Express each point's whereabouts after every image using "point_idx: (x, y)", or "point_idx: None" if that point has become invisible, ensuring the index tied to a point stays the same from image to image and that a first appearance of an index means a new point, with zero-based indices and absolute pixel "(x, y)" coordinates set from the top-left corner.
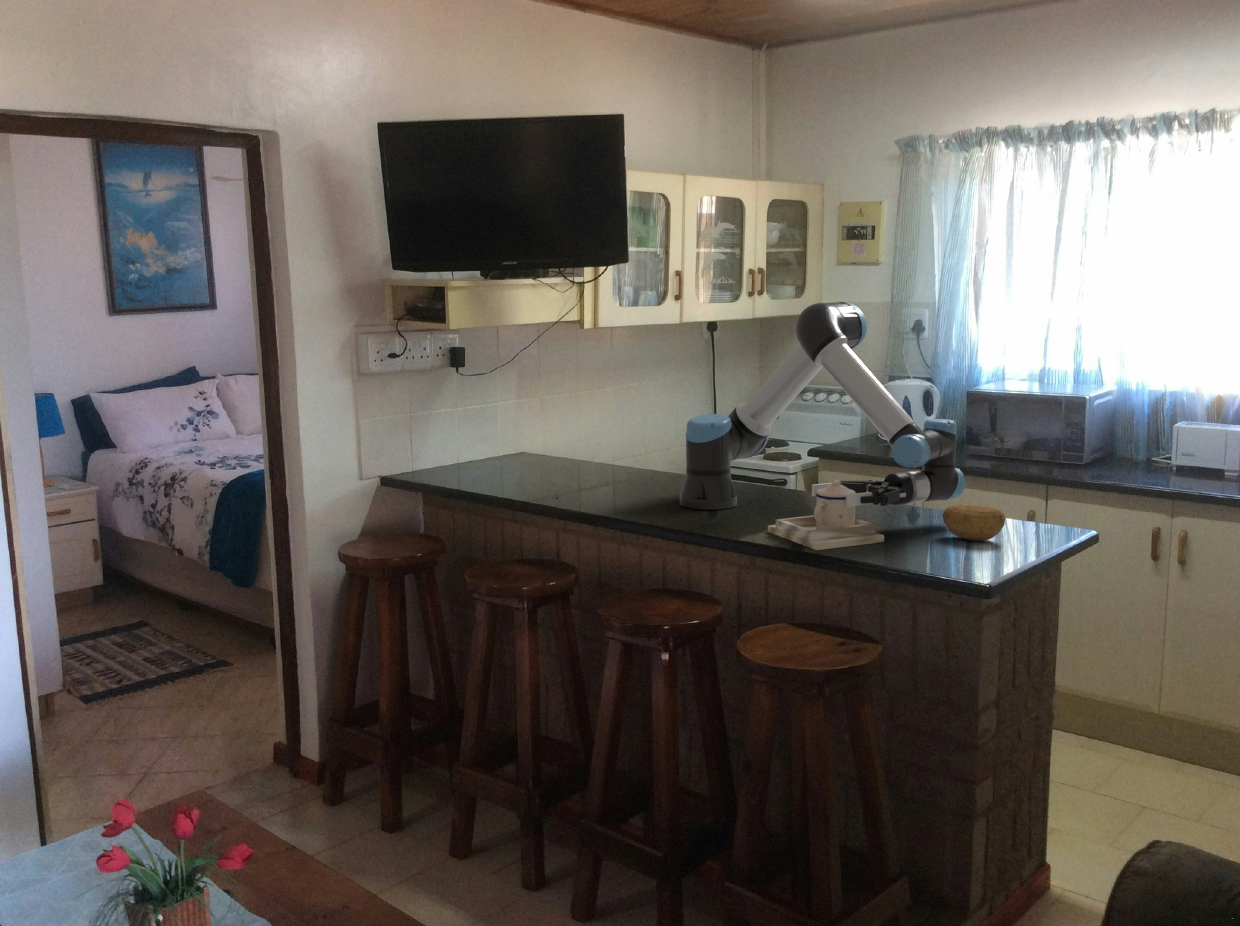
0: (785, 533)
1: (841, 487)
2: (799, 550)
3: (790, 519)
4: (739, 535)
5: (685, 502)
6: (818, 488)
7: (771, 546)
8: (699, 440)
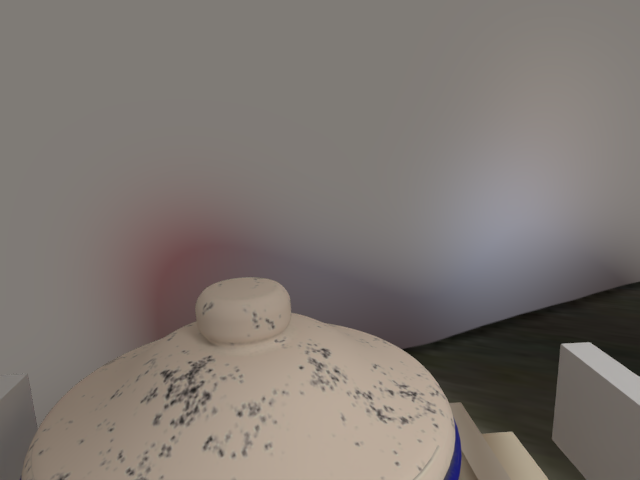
0: None
1: (155, 348)
2: None
3: (461, 450)
4: (455, 381)
5: None
6: (591, 406)
7: None
8: None
